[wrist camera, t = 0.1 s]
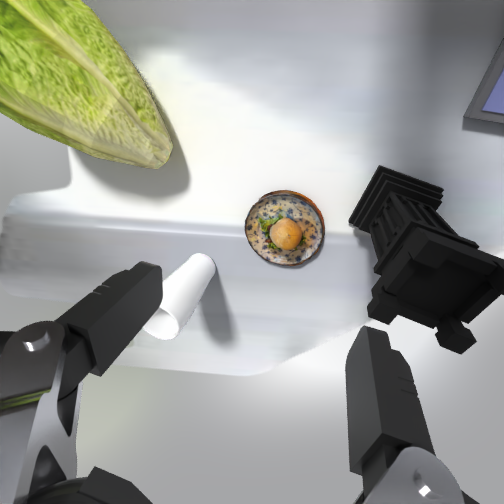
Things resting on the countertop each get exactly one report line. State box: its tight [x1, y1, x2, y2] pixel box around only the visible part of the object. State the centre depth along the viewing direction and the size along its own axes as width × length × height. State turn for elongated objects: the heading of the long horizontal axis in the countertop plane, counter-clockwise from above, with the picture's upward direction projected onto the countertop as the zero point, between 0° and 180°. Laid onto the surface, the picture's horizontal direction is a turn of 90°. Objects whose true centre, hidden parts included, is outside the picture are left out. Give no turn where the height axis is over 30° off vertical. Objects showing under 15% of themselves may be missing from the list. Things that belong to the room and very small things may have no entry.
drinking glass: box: [142, 253, 216, 340], centre depth 42 cm, size 7×7×15 cm
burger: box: [245, 190, 325, 266], centre depth 37 cm, size 12×12×8 cm
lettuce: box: [0, 0, 173, 169], centre depth 33 cm, size 15×24×16 cm
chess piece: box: [349, 165, 504, 354], centre depth 26 cm, size 8×8×20 cm
